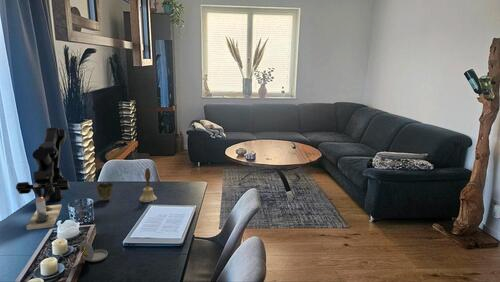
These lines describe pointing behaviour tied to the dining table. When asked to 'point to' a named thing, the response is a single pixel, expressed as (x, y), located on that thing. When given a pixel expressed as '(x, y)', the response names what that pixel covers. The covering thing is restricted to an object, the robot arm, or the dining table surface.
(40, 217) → the grey copper topped cylinder
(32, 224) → the pitch plate
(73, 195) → the dining table surface
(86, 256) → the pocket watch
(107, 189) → the cup
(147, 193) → the hand bell
